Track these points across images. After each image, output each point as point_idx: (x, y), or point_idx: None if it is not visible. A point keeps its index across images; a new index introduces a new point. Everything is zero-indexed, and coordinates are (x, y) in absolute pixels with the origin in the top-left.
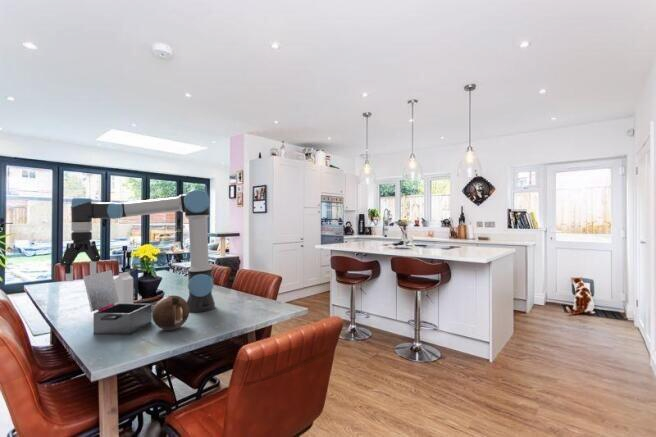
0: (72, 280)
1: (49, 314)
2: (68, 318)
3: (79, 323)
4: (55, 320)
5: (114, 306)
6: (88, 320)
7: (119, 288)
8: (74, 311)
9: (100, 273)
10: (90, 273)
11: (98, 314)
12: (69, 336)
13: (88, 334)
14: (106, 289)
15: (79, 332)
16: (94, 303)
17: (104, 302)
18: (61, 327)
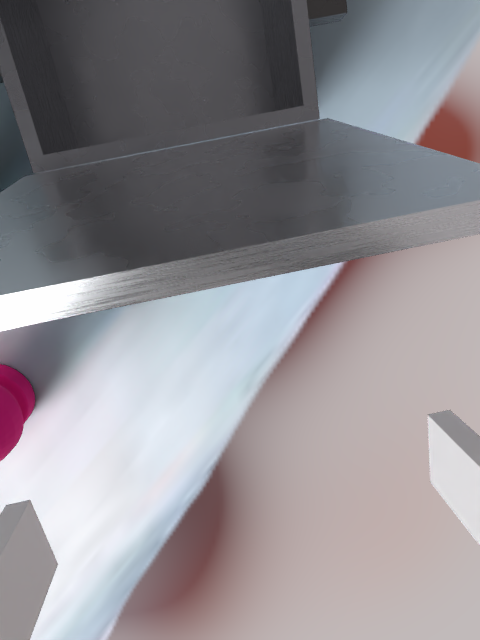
0: (439, 415)
1: (109, 618)
2: (124, 495)
3: (168, 375)
4: (167, 517)
5: (105, 143)
6: (115, 377)
7: None
8: None
9: (145, 260)
10: (45, 579)
11: (312, 76)
12: None
13: None
14: (121, 187)
15: None
16: (310, 131)
17: (191, 150)
18: (239, 398)
